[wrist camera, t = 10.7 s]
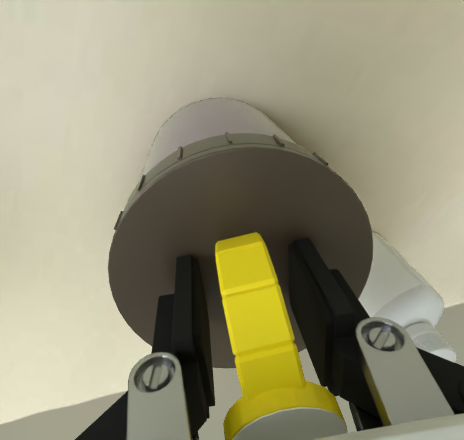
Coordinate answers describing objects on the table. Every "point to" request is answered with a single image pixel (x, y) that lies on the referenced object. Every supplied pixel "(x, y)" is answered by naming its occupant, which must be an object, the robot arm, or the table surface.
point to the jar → (209, 126)
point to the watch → (267, 353)
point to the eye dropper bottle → (404, 299)
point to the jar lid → (232, 224)
